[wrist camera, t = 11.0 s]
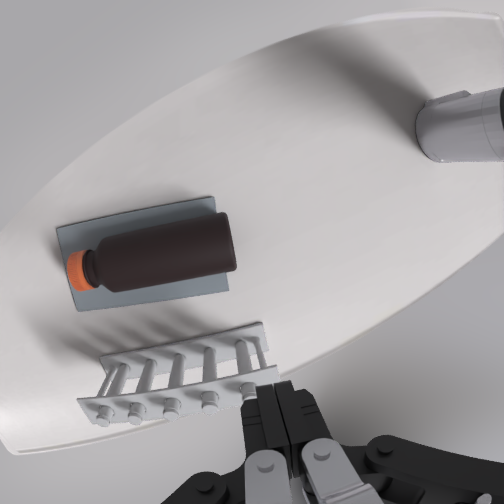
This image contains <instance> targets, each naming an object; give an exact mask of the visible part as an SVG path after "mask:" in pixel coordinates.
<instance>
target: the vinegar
mask: <svg viewBox="0 0 504 504" xmlns="http://www.w3.org/2000/svg"><path fill="white" fill-rule="evenodd" d="M236 268H237V264H236V258H235V252H234V247H233V241H232V236H231V231H230V226H229V221H228V217H227V214H226V213H224V212H221V213H216V214H211V215H206V216H201V217H196V218H191V219H186V220H181V221H176V222H171V223H166V224H162V225H157V226H152V227H148V228H143V229H139V230H134V231H130V232H125V233H121V234H117V235H113V236H108V237H105V238H103V239H102V240H101V241H100V243H99V245H98V246H97V248H96V250H94V251H93V250H90V249H89V250H83V251H79V252H75V253H72V254H70V256H69V258H68V262H67V272H68V277H69V280H70V282H71V284H72V286H73V287H74V288H75V290H77V291H86V290H91V289H95V288H98V287H99V286H100V285H103V286H104V287H105V288H107V289H108V290H109V291H111V292H113V293H116V292H123V291H129V290H134V289H140V288H145V287H151V286H156V285H162V284H167V283H172V282H178V281H183V280H188V279H194V278H199V277H204V276H210V275H215V274H220V273H225V272H230V271H234V270H236Z"/></svg>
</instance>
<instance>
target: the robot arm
mask: <svg viewBox="0 0 504 504" xmlns="http://www.w3.org/2000/svg"><path fill="white" fill-rule="evenodd" d="M416 135H417V139H418V142H419V144H420V146H421V148H422V150H423V151H424V153H425V154H426V155H427V156H428V157H429V158H430V159H432V160H433V161H436V162H446V163H448V162H486V161H497V162H504V87H503V88H498V89H494V90H489V91H485V92H481V93H477V94H472V95H471V94H470V93H469V92H467V91H465V90H463V91H460V92H456V93H453V94H449V95H446V96H443V97H439V98H436V99H433V100H430V101H427V102H425V107H424V108H423V109H422V110H421V111H420V112H419V114H418V116H417V119H416ZM255 390H256V396H257V398H254V399H247V400H244V402H243V404H242V407H241V417H242V425H243V433H244V441H245V448H246V459H245V461H244V463H243V464H242V465H241V466H240V467H239V468H238V469H236V470H235V471H232V472H230V473H227V474H225V475H222V476H220V475H219V474H216V473H214V472H200V473H197V474H194V475H193V476H191V477H190V478H189V479H188V480H187V481H186V482H185V483H183V484H182V485H181V486H180V487H179V488H178V489H177V490H176V491H175V492H174V493H172V494H171V495H170V496H169V497H168V498H167V499H166V500H165V501H163V502H162V503H161V504H293V503H292V496H291V489H290V479H291V478H292V473H293V477H294V478H296V477H300V478H301V482H302V486H303V494H304V496H305V499H306V501H307V503H308V504H504V463H500V462H494V461H489V460H483V459H478V458H473V457H469V456H464V455H459V454H455V453H451V452H447V451H443V450H439V449H436V448H432V447H428V446H425V445H421V444H418V443H414V442H411V441H408V440H404V439H401V438H398V437H395V436H391V435H381V436H378V437H375V438H374V439H372V440H371V441H370V442H369V443H368V444H367V446H352V447H351V446H344V445H341V444H339V443H337V442H336V441H334V440H333V438H332V437H331V435H330V432H329V430H328V428H327V426H326V423H325V421H324V419H323V417H322V414H321V412H320V410H319V408H318V406H317V403H316V401H315V399H314V397H313V395H312V394H311V393H309V392H308V391H307V390H306V389H302V390H297V391H294V388H293V385H292V383H291V381H290V380H288V381H283V382H278V383H273V385H272V384H267V385H261V386H255ZM291 470H292V471H291Z"/></svg>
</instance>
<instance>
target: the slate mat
mask: <svg viewBox="0 0 504 504" xmlns="http://www.w3.org/2000/svg"><path fill="white" fill-rule="evenodd" d="M216 213H217V212H216V206H215V199H214V197H210V198H204V199H198V200H192V201H186V202H181V203H175V204H170V205H164V206H159V207H153V208H148V209H143V210H138V211H133V212H128V213H123V214H118V215H114V216H109V217H104V218H100V219H95V220H91V221H87V222H82V223H78V224H74V225H70V226H65V227H61V228H57V233H58V238H59V243H60V247H61V252H62V256H63V260H64V264H65V268H66V272H67V262H68V258H69V256H70V254H72V253H75V252H79V251H83V250H89V249H90V250H93V251H94V250H96V248H97V246H98V245H99V243H100V241H101V240H102V239H103V238H105V237H108V236H113V235H117V234H121V233H125V232H130V231H134V230H139V229H143V228H148V227H152V226H157V225H162V224H166V223H171V222H176V221H181V220H186V219H191V218H196V217H201V216H206V215H211V214H216ZM67 276H68V272H67ZM68 280H69V277H68ZM69 283H70V287H71V290H72V294H73V297H74V301H75V304H76V307H77V310H78V312H81V311H90V310H98V309H106V308H114V307H122V306H130V305H137V304H145V303H152V302H159V301H166V300H173V299H180V298H186V297H193V296H200V295H206V294H212V293H219V292H225V291H229V287H228V281H227V275H226V272H225V273H220V274H215V275H210V276H204V277H199V278H194V279H188V280H183V281H178V282H172V283H167V284H162V285H156V286H151V287H145V288H140V289H134V290H129V291H123V292H116V293H113V292H111V291H109V290H108V289H107V288H105V287H104V286H103V285H100V286H99V287H98V288H95V289H91V290H86V291H77V290H75V288H74V287H73V286H72V284H71V282H70V280H69Z"/></svg>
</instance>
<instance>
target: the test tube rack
mask: <svg viewBox="0 0 504 504" xmlns="http://www.w3.org/2000/svg"><path fill="white" fill-rule="evenodd" d="M266 351H269V346H268V342H267V338H266V334H265V330H264V326H263V323H262V322H261V323H257V324H253V325H249V326H245V327H241V328H237V329H233V330H229V331H225V332H221V333H217V334H212V335H208V336H204V337H199V338H195V339H190V340H185V341H181V342H176V343H171V344H166V345H161V346H156V347H151V348H145V349H140V350H135V351H129V352H123V353H117V354H111V355H105V356H101V357H100V358H99V359H100V361H101V363H102V365H103V367H104V369H105V371H106V373H107V376H106V378H105V380H104V382H103V384H102V386H101V388H100V390H99V392H98V394H97V396H96V397H87V398H77V402H78V403H79V405H80V406H81V408H82V410H83V411H84V413H85V414H86V416H87V417H88V419H89V420H90V422H91V423H92V424H98V425H100V426H102V427H108V425H109V424H110V423H126V422H129V423H131V424H133V425H140V424H141V422H142V421H148V420H157V419H166V420H168V421H176V420H177V419H178V417H180V416H187V415H193V414H199V413H204V414H206V415H214V414H216V413H217V411H218V410H221V409H226V408H231V407H235V406H240V405H242V404H243V402H244V400H247V399H254V398H257V396H256V390H255V386H256V385H257V386H261V385H267V384H272V385H273V383H278V382H281V381H280V376H279V372H278V368H277V365H272V366H268V367H267V364H266V361H265V358H264V354H263V352H266ZM254 354H257V356H258V360H259V364H260V368H261V369H257V370H253V369H252V364H251V360H250V355H254ZM234 359H237V365H238V372H239V374H236V375H232V376H227V377H223V378H218V379H217V366H216V363H221V362H225V361H229V360H234ZM202 366H203V382H199V383H193V384H188V385H183V377H184V370H187V369H192V368H197V367H202ZM165 373H171V374H170V379H169V384H168V388H164V389H158V390H151V386H152V382H153V379H154V375H160V374H165ZM134 378H140V380H139V383H138V386H137V389H136V392H135V393H129V394H121V393H122V390H123V387H124V385H125V382H126V380H127V379H134ZM110 380H111V382H112V383H111V385H110V388H109V390H108V392H107V394H106V396H103V395H104V393H105V391H106V389H107V387H108V385H109V382H110ZM240 387H241V389H240ZM150 390H151V391H150ZM201 395H202V396H201ZM165 399H166V400H165ZM180 403H181V405H180ZM100 407H101V408H100ZM145 409H146V411H145Z"/></svg>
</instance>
